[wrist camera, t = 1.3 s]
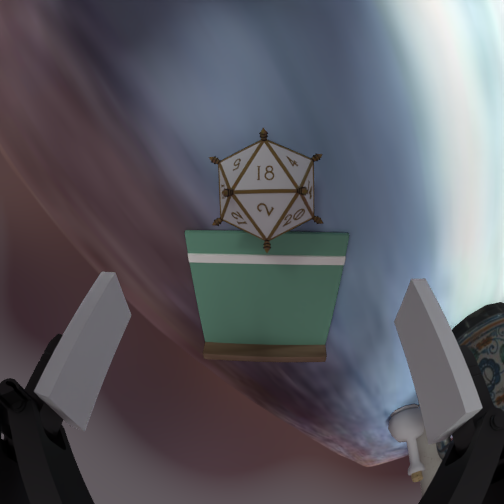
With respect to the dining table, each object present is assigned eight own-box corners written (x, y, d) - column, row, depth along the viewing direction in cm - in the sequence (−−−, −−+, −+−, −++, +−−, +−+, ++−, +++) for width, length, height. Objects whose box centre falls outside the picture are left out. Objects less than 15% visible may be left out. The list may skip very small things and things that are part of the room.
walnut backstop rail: (205, 339, 39) (202, 353, 37) (324, 342, 38) (326, 356, 36) (206, 344, 39) (204, 358, 37) (323, 347, 39) (325, 361, 37)
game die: (279, 143, 27) (356, 130, 19) (281, 229, 29) (356, 249, 21) (187, 141, 23) (238, 116, 15) (193, 241, 25) (243, 271, 17)
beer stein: (520, 321, 35) (568, 431, 15) (444, 380, 45) (471, 490, 25) (499, 284, 31) (571, 430, 10) (405, 360, 41) (435, 505, 20)
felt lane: (185, 230, 29) (184, 233, 29) (348, 233, 28) (349, 236, 28) (205, 339, 39) (205, 342, 38) (324, 342, 38) (325, 345, 37)
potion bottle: (392, 422, 56) (401, 487, 41) (382, 412, 52) (393, 486, 38) (425, 408, 53) (439, 475, 38) (420, 397, 49) (436, 472, 34)
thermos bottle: (442, 417, 58) (460, 504, 35) (422, 429, 62) (435, 513, 39) (426, 417, 56) (443, 512, 33) (405, 430, 61) (417, 519, 38)
